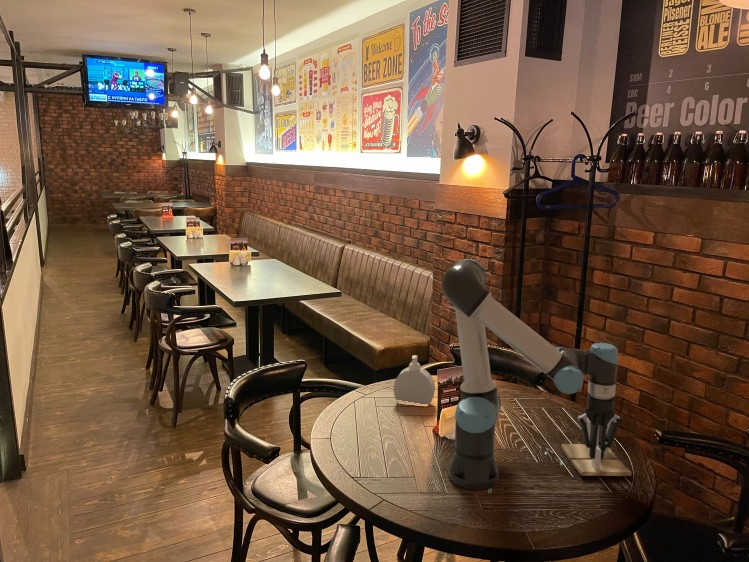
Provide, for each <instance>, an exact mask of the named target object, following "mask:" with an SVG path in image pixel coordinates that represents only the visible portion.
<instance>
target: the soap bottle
mask: <svg viewBox="0 0 749 562" xmlns="http://www.w3.org/2000/svg"><path fill="white" fill-rule="evenodd" d="M411 356H412V357H411V362H410V363H409V365H408V367H406V368H404V369H402V370H401V372H400V373H399V374H398V376H397V377H396V379H395V380H394V384H393V388H392V389H393V390H392V391H393V394H394V399H395V400H396V401H397V400H402V401H408V402H414V403H420V404H428V405H429V406H430V405H431V403H432V402H433V399H434V397H435V392H436V384H435V380H434V378H433V377H432V375H431V373H429V372H428V370H426V369H424V368H423V367H421V364H420V363H419V362H418V355H415V354H414V355H411Z"/></svg>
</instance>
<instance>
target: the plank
mask: <svg viewBox="0 0 749 562" xmlns="http://www.w3.org/2000/svg"><path fill="white" fill-rule="evenodd" d="M570 463H571V465H572V466H573V467H574V468H575V469H576V471H577V472H578V474H579V475H580V476H587V477H588V476H590V477H591V476H594V477H598V476H601V477H605V476H607V477H611V476H612V477H632V471H631V469H629V468H628V467H627V466H626V465H625V464H624V463H623V462H622V461H621V460H620V459H618V460H600V470H594V469H593V467H592V466H591V464H592V460H571V462H570Z"/></svg>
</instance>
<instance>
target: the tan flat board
mask: <svg viewBox="0 0 749 562" xmlns="http://www.w3.org/2000/svg"><path fill="white" fill-rule="evenodd" d="M561 449H562V451H563V453H564V454H565V456H566V457H567V459H568V460H569V462H570V463H571V460H592V459H591V458H590V456H589V451H588V448H587V447H586V445H585V444H584V443H570V444H569V443H561ZM600 460H619V459H618V457H617V456H616V455H615V453H614V452H613V451H612V449H611V447H610V448H609V454H608V455H607V456H604V457H603V459H600Z"/></svg>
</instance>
